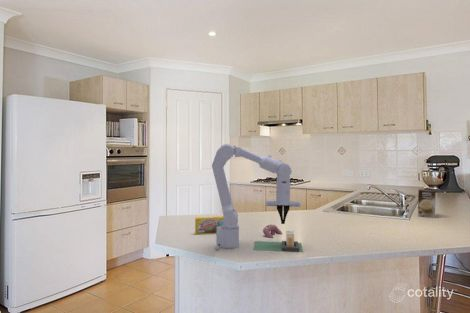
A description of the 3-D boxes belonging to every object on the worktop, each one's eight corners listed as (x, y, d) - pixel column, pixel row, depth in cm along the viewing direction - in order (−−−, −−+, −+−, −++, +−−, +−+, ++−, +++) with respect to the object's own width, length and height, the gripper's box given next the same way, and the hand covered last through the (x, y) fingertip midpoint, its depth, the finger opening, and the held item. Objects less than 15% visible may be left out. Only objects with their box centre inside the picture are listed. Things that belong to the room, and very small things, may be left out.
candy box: (195, 234, 151) (195, 218, 151) (195, 233, 153) (195, 217, 153) (227, 233, 154) (227, 216, 154) (227, 231, 156) (227, 215, 156)
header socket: (281, 251, 123) (281, 247, 123) (281, 244, 132) (281, 240, 132) (299, 252, 122) (299, 248, 122) (297, 244, 131) (297, 241, 131)
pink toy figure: (276, 237, 151) (270, 224, 153) (283, 235, 148) (278, 221, 150) (265, 242, 143) (259, 228, 145) (273, 240, 140) (267, 225, 142)
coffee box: (417, 216, 190) (417, 190, 189) (417, 214, 195) (418, 189, 195) (435, 218, 185) (435, 191, 184) (435, 216, 190) (435, 190, 190)
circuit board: (252, 252, 125) (252, 249, 125) (255, 243, 137) (255, 241, 137) (303, 254, 122) (303, 252, 122) (301, 245, 134) (301, 243, 134)
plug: (286, 250, 124) (286, 234, 124) (286, 246, 129) (286, 231, 129) (294, 250, 124) (294, 234, 124) (293, 246, 129) (293, 231, 129)
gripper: (265, 192, 128) (265, 225, 128) (301, 193, 125) (300, 226, 126) (266, 190, 135) (266, 221, 135) (300, 190, 132) (300, 222, 133)
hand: (283, 223), depth 131 cm, fingers closed
